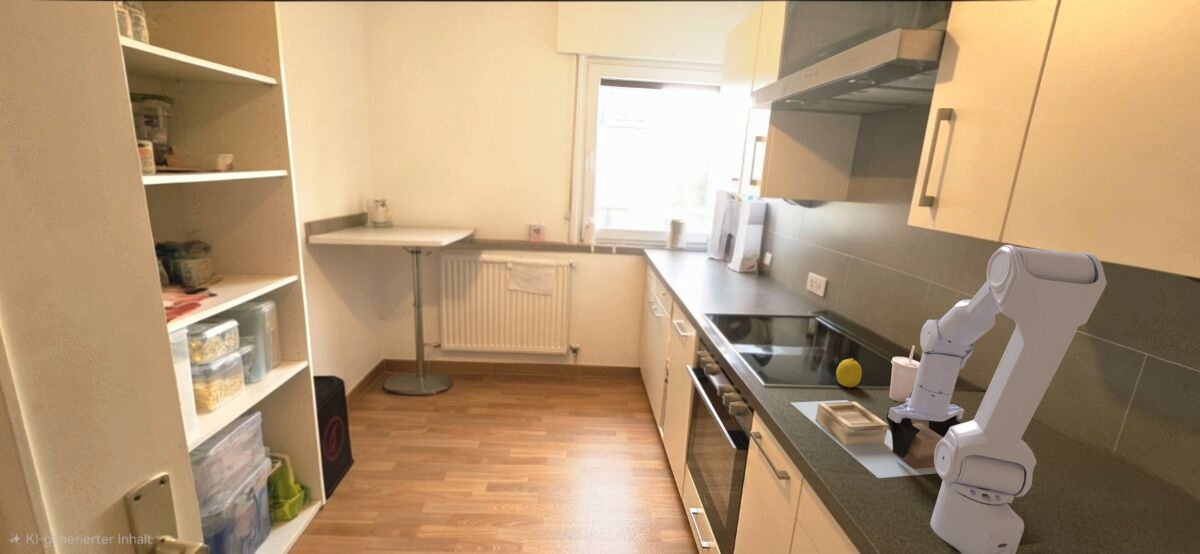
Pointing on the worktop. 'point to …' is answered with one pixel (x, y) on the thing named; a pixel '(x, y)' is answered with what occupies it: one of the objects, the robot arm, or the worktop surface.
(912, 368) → the smoothie
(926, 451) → the walnut block
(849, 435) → the socket base
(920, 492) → the worktop surface
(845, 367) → the lemon
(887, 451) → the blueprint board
